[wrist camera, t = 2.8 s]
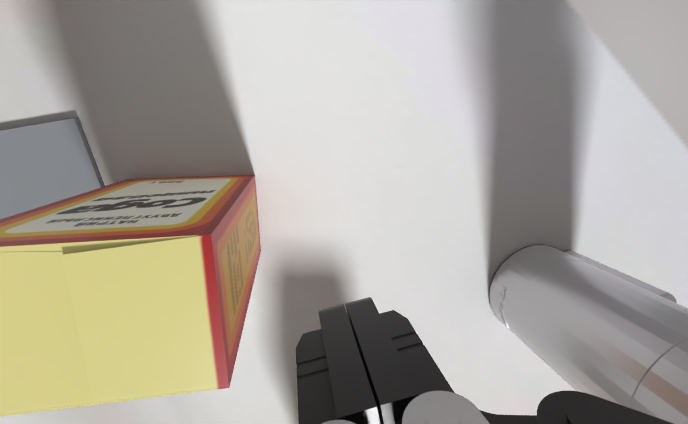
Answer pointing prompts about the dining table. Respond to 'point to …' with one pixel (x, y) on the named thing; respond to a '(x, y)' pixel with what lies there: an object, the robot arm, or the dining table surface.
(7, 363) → the baking soda box
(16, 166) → the rubber mat
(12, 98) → the dining table surface
